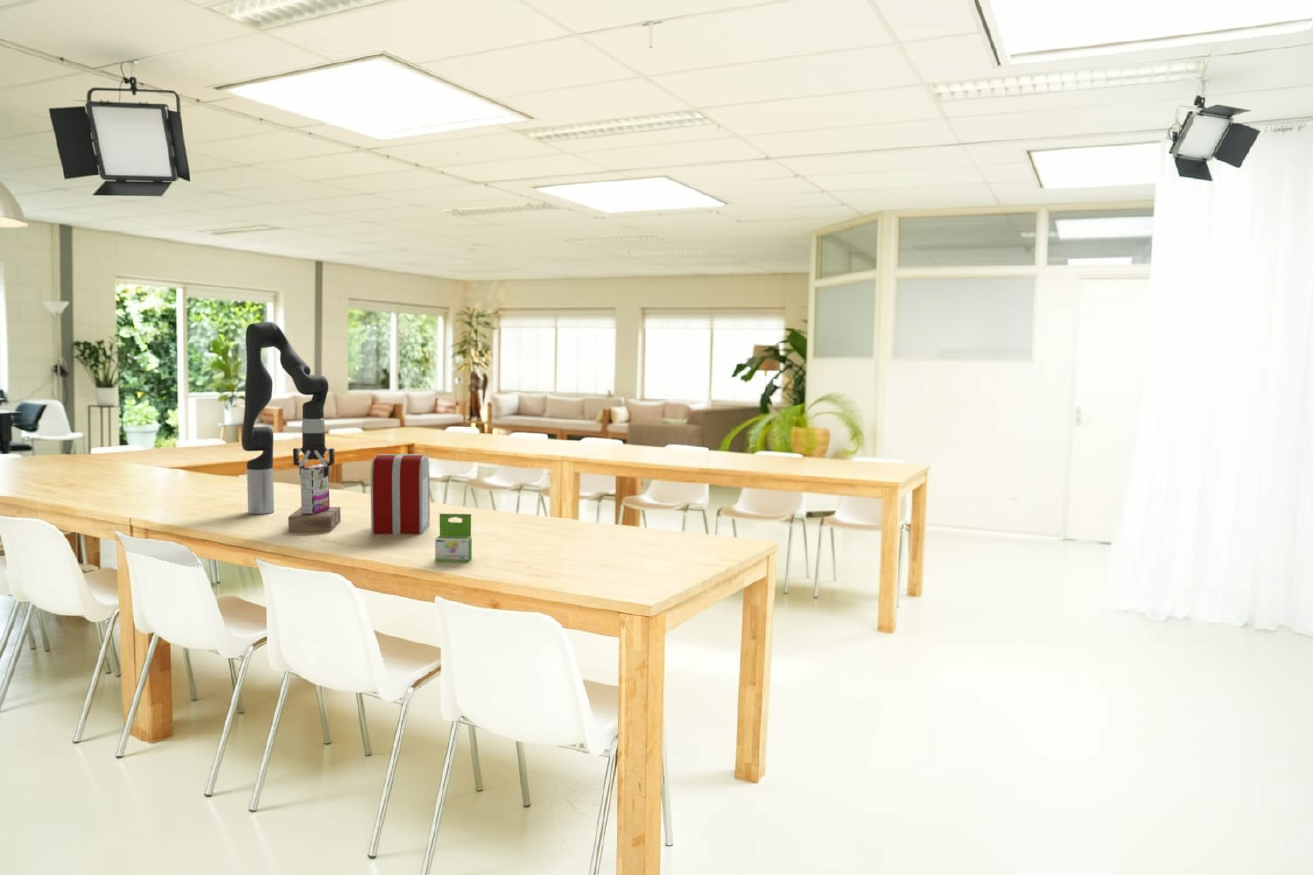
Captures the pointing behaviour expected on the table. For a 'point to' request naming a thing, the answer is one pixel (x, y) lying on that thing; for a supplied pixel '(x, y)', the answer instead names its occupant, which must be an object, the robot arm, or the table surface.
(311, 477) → the candy bar box
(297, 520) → the walnut block
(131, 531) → the table surface
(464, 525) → the ink box
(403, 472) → the red grey rounded block
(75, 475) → the table surface
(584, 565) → the table surface
